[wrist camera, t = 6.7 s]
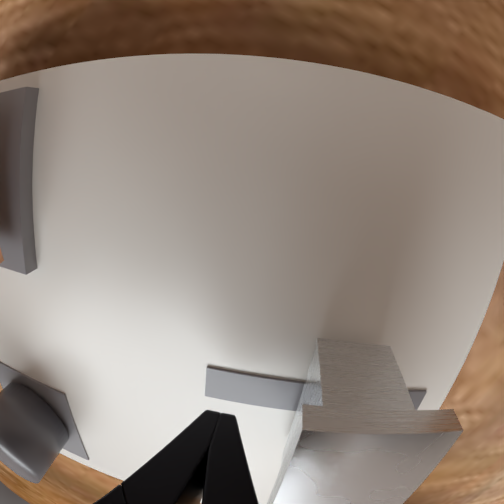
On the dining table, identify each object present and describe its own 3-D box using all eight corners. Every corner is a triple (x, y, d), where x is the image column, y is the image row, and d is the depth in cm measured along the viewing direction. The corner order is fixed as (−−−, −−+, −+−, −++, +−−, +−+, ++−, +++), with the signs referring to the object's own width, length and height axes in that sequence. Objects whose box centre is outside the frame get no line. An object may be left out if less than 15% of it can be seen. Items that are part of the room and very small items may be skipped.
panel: (41, 414, 15) (20, 440, 12) (-2, 93, 9) (-45, 91, 7) (355, 489, 13) (358, 526, 11) (491, 131, 8) (539, 130, 5)
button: (20, 424, 12) (-7, 457, 9) (-3, 370, 11) (-39, 404, 8) (76, 454, 12) (50, 494, 9) (56, 401, 11) (19, 446, 8)
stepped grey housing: (265, 459, 10) (253, 545, 6) (301, 317, 8) (302, 430, 4) (347, 466, 9) (353, 548, 6) (412, 331, 7) (463, 430, 4)
